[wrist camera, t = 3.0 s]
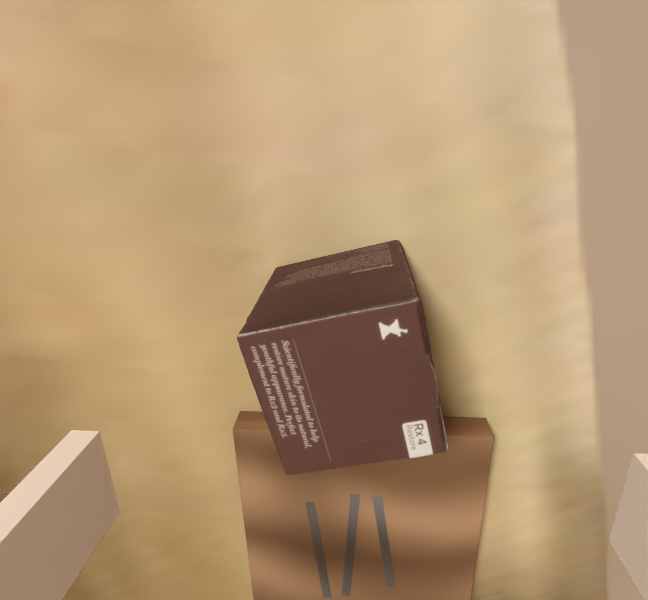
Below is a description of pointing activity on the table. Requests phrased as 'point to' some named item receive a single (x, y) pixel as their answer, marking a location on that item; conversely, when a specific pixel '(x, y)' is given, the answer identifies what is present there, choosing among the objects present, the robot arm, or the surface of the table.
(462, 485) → the board
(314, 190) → the table surface
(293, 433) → the box
